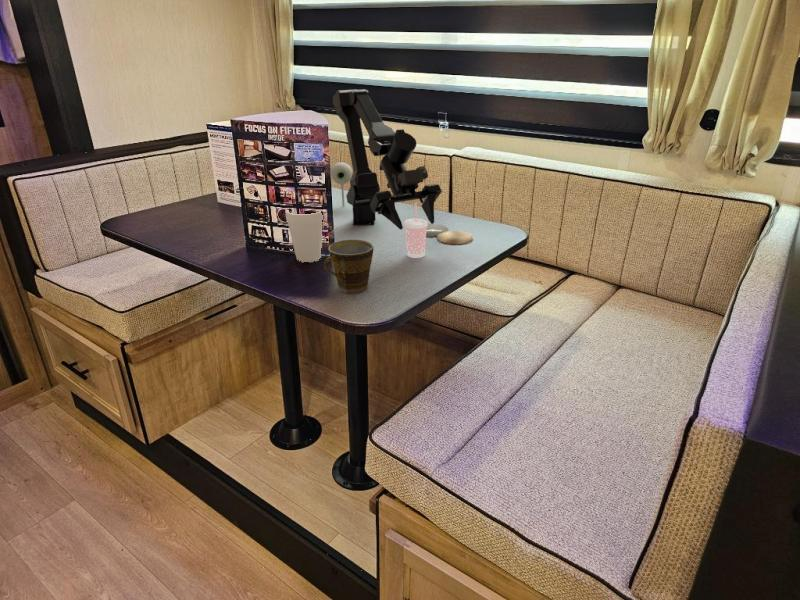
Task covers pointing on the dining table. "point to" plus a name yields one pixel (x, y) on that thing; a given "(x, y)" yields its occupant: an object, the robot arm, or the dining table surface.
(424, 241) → the beverage cup
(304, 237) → the foam cup
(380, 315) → the dining table surface
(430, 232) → the grey dome cap
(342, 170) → the lollipop
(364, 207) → the robot arm
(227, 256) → the dining table surface
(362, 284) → the ceramic cup
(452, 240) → the shiny gold rounded object
